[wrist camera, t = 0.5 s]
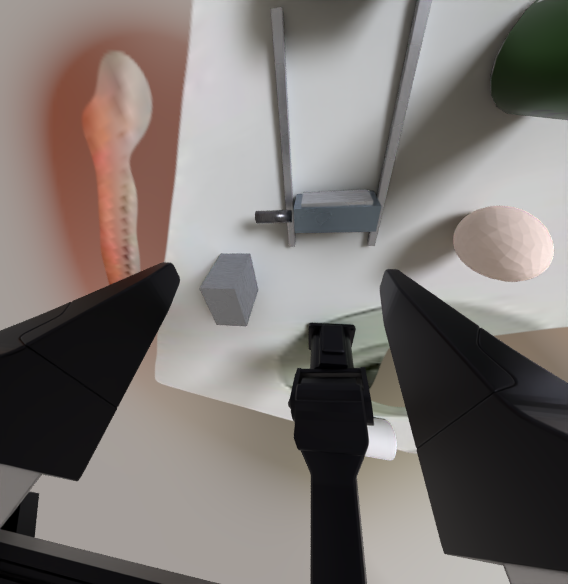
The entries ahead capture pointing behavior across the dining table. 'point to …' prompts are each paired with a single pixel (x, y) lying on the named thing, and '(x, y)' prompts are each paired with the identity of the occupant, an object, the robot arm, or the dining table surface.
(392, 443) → the mug
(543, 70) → the green soda can
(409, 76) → the vise bed
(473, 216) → the egg
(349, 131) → the dining table surface
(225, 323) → the steel block
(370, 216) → the block
